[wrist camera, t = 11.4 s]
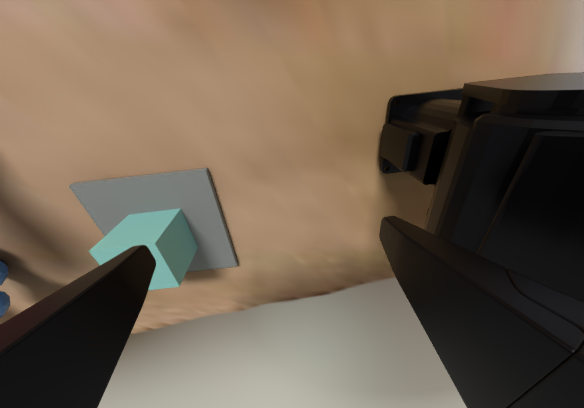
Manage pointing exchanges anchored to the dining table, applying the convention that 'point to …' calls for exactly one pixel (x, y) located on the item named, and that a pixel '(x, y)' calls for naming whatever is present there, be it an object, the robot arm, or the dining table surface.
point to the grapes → (1, 299)
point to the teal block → (153, 244)
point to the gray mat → (164, 208)
